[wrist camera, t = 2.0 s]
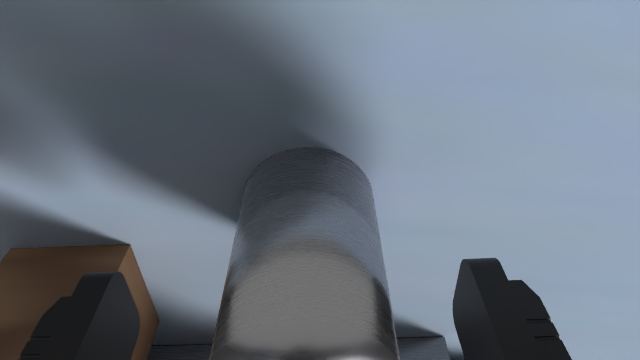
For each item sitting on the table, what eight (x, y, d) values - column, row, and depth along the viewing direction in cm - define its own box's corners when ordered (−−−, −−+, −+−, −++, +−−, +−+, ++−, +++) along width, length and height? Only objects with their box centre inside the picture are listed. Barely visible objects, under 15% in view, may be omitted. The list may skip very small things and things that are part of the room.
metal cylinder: (374, 145, 13) (409, 320, 8) (371, 247, 16) (397, 431, 11) (234, 150, 13) (186, 327, 8) (252, 251, 16) (223, 435, 11)
